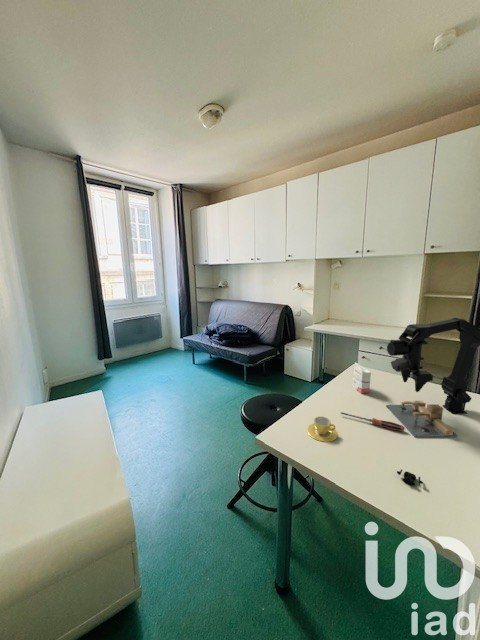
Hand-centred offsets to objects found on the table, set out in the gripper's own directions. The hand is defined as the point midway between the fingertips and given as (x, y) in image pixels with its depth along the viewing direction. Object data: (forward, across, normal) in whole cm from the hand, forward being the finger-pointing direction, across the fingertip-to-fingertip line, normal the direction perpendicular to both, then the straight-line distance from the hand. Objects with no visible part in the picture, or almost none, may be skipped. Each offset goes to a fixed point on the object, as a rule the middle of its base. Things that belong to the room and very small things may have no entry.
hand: (410, 386), depth 115 cm
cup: (+12, +15, -43) cm, 47 cm away
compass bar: (+12, +7, +2) cm, 13 cm away
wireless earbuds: (+12, +39, -21) cm, 46 cm away
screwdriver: (+12, +9, -21) cm, 26 cm away
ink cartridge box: (+12, -21, -13) cm, 28 cm away
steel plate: (+13, +7, 0) cm, 14 cm away
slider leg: (+11, +8, +2) cm, 14 cm away
